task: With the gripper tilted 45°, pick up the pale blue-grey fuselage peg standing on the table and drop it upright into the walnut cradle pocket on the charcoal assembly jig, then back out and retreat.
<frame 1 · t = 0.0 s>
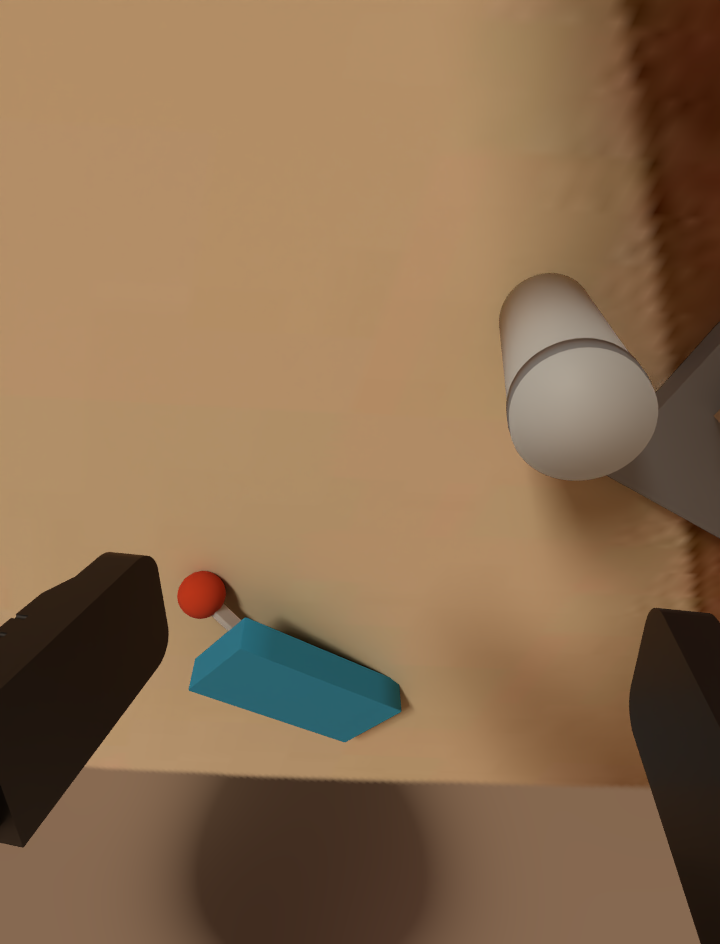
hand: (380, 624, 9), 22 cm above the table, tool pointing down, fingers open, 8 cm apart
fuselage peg: (544, 319, 28), on the table
lever: (290, 635, 44), on the table
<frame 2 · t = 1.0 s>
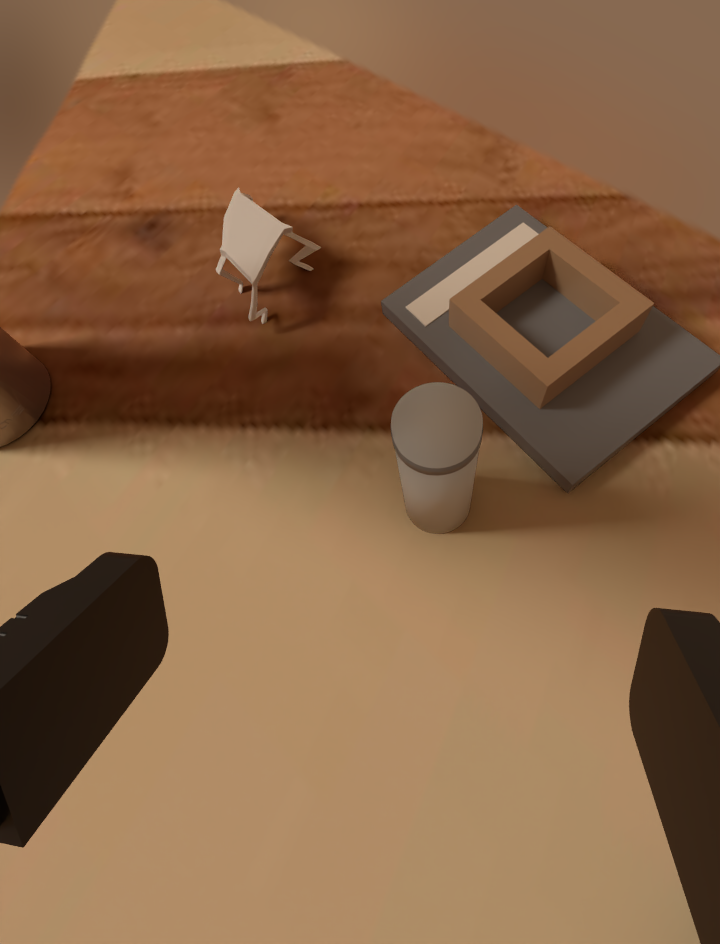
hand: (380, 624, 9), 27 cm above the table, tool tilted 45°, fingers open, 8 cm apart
assembly jig: (537, 340, 41), on the table
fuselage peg: (437, 502, 38), on the table
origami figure: (269, 269, 48), on the table
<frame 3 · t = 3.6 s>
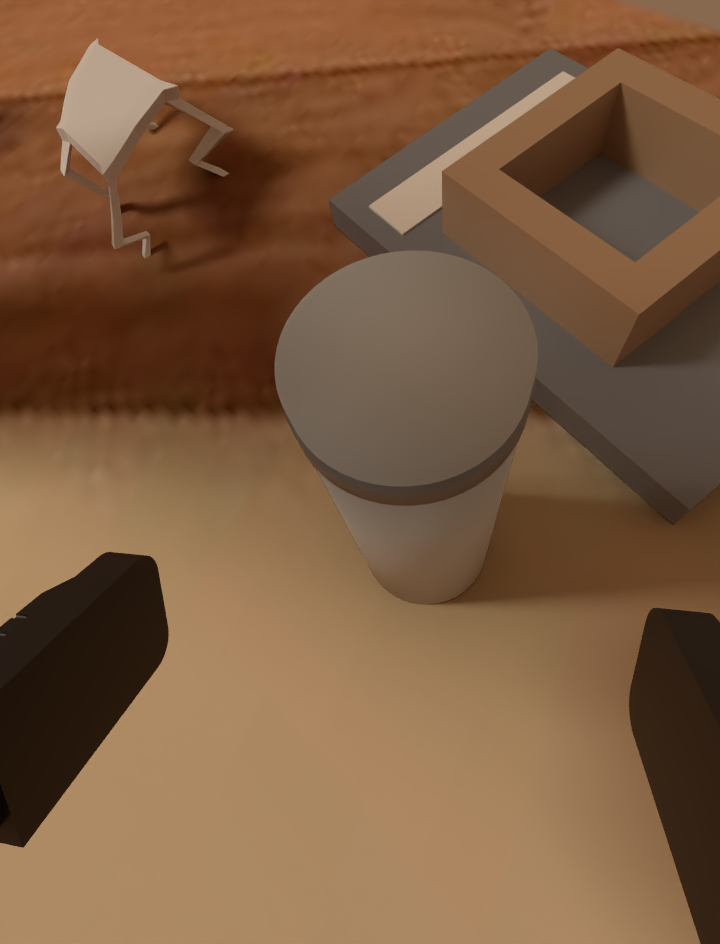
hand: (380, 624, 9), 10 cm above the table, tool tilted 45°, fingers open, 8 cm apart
assembly jig: (596, 257, 24), on the table
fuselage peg: (424, 543, 20), on the table
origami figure: (161, 180, 31), on the table
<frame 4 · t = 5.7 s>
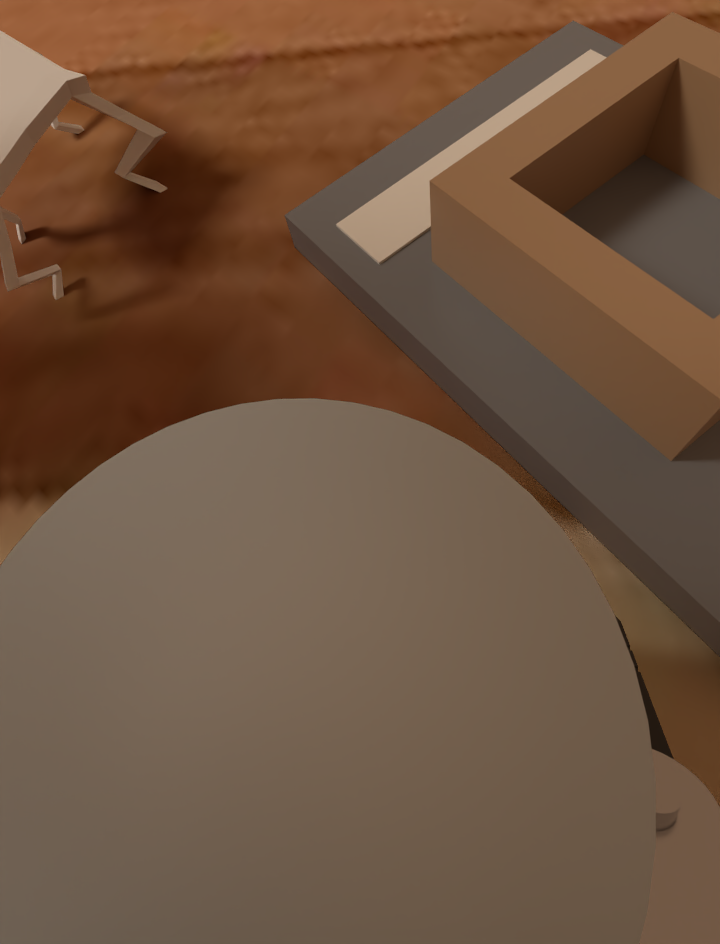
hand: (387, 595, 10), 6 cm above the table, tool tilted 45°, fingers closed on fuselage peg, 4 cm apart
assembly jig: (637, 294, 18), on the table
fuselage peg: (401, 710, 14), on the table, touching gripper
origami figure: (85, 196, 24), on the table
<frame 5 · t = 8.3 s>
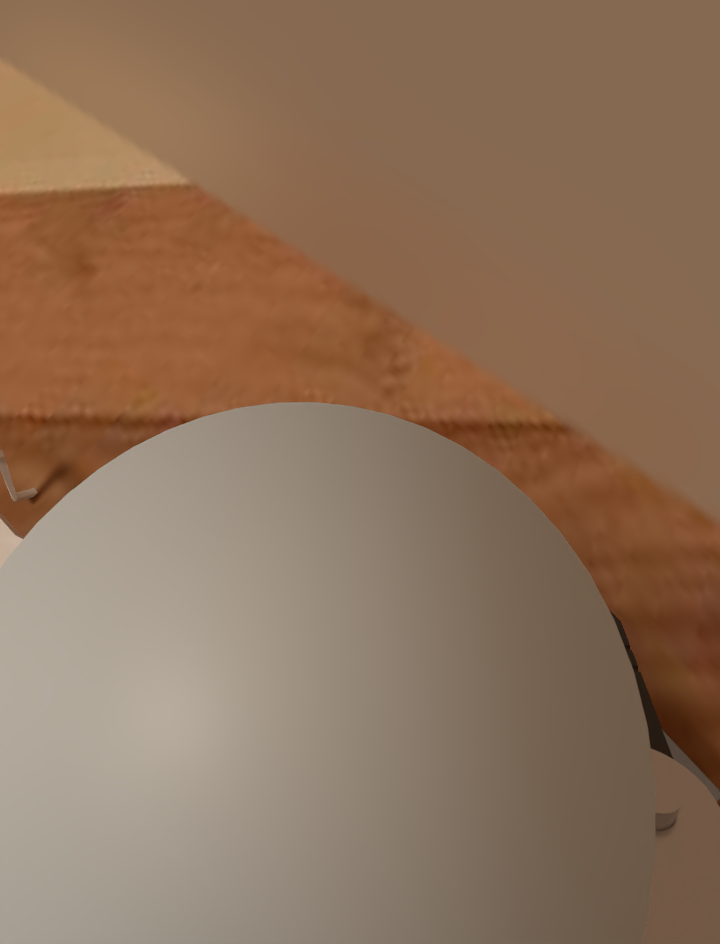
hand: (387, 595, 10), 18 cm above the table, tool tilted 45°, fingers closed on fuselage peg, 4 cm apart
assembly jig: (420, 697, 26), on the table
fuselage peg: (401, 711, 14), point 12 cm above the table, touching gripper
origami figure: (39, 560, 32), on the table
when the fingers open (9 cm above the table, at t = 11.0 s): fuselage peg drops 1 cm, resting on assembly jig.
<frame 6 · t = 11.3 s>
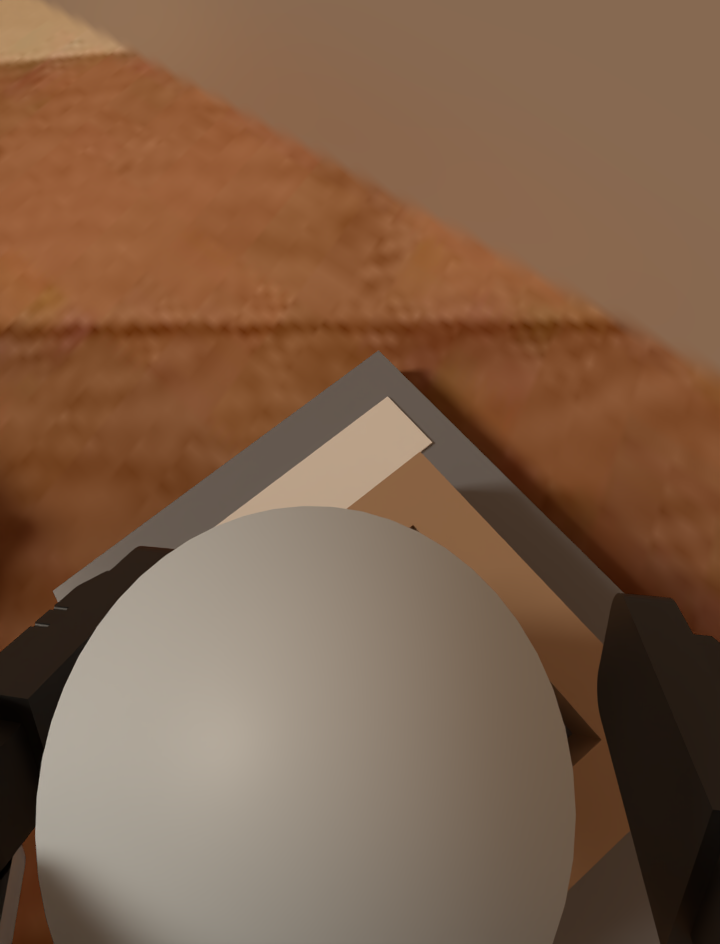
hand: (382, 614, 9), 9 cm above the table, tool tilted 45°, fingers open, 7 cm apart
assembly jig: (407, 709, 17), on the table
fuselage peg: (399, 714, 15), point 2 cm above the table, touching assembly jig
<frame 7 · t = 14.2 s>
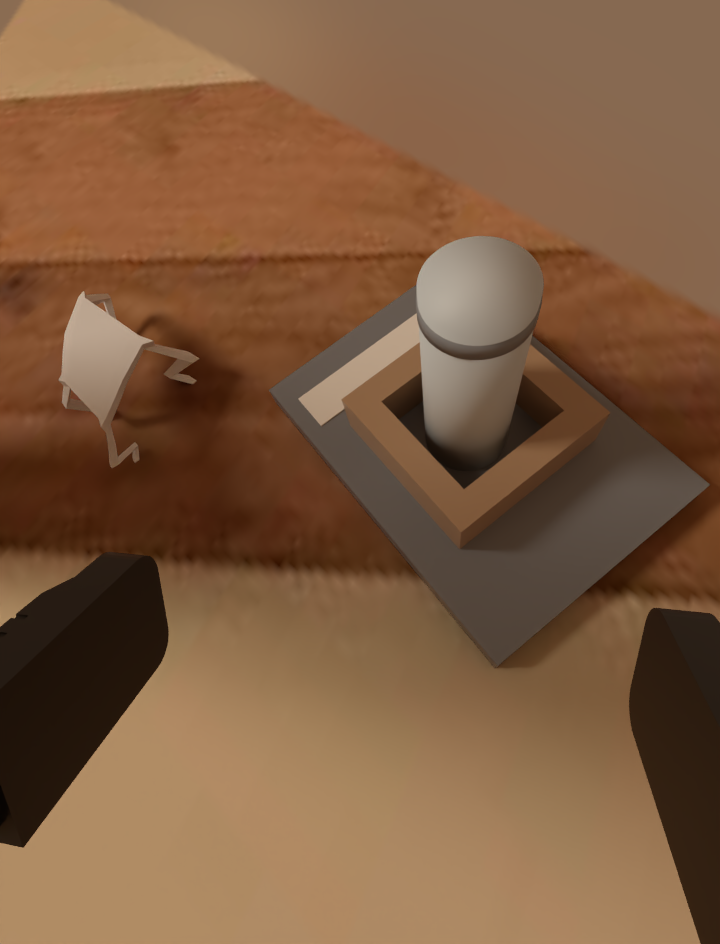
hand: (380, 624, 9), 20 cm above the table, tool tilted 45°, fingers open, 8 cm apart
assembly jig: (466, 444, 32), on the table
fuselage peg: (465, 434, 30), point 2 cm above the table, touching assembly jig
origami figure: (142, 385, 37), on the table
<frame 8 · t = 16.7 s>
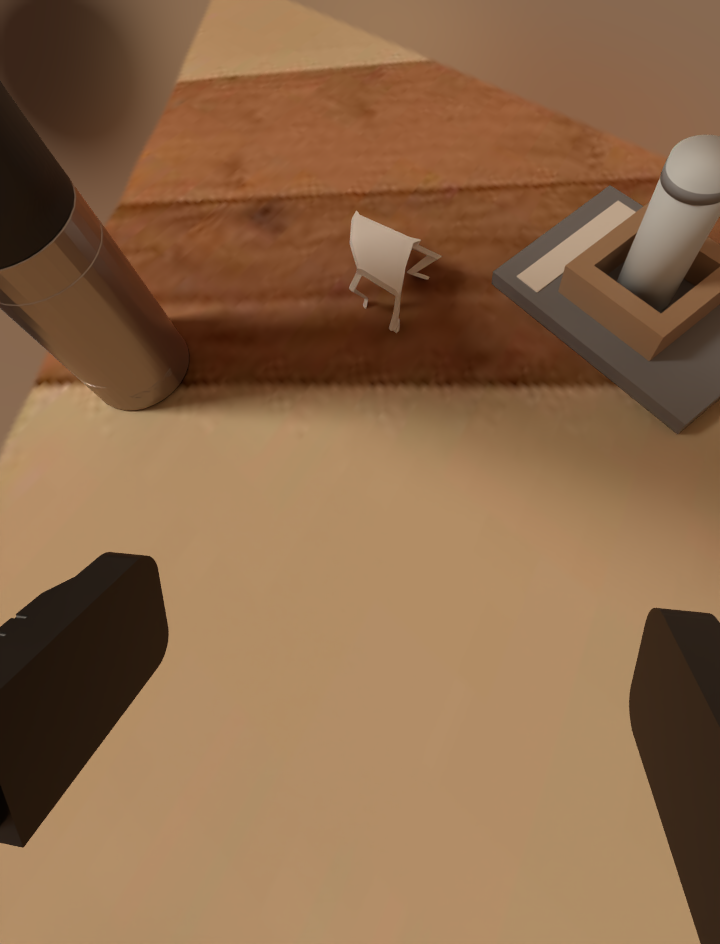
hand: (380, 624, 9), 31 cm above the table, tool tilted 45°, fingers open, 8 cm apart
assembly jig: (637, 304, 46), on the table
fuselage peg: (642, 293, 45), point 2 cm above the table, touching assembly jig
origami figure: (385, 283, 51), on the table
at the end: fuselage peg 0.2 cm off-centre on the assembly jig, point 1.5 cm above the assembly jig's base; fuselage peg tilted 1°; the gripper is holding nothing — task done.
